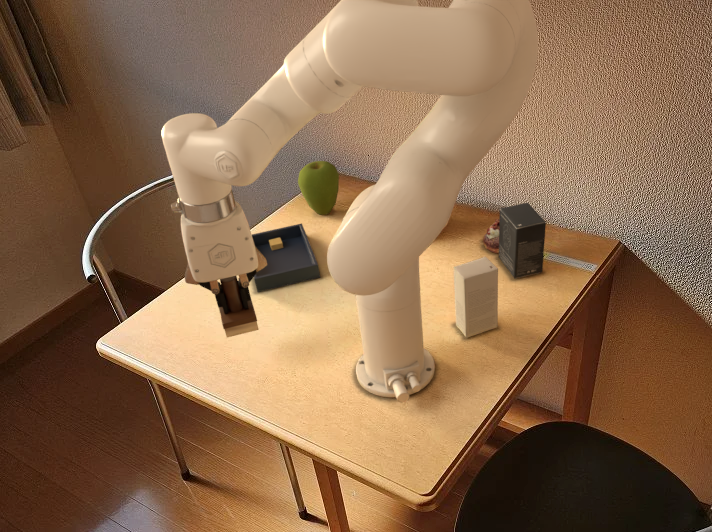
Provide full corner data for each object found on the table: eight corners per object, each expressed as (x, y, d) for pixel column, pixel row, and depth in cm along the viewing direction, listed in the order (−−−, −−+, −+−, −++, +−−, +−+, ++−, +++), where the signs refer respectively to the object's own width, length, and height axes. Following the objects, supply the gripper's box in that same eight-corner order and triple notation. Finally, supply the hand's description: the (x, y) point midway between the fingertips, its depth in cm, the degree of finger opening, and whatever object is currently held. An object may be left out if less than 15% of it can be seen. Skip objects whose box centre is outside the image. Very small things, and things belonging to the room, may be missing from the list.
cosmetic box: (486, 314, 127) (486, 255, 118) (498, 328, 124) (499, 268, 115) (454, 325, 125) (452, 266, 117) (465, 339, 122) (464, 279, 114)
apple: (334, 198, 162) (327, 148, 154) (350, 214, 156) (343, 163, 149) (298, 209, 160) (289, 160, 152) (312, 226, 154) (303, 175, 146)
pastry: (475, 239, 144) (475, 217, 141) (509, 228, 146) (510, 206, 142) (496, 259, 138) (497, 236, 135) (531, 247, 140) (532, 224, 137)
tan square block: (283, 248, 148) (282, 242, 147) (271, 250, 148) (270, 245, 147) (281, 242, 150) (280, 237, 149) (269, 244, 150) (268, 239, 149)
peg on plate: (259, 330, 117) (248, 285, 112) (226, 338, 117) (213, 293, 111) (252, 306, 123) (241, 261, 117) (220, 313, 122) (208, 269, 116)
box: (543, 272, 134) (546, 221, 127) (513, 279, 133) (515, 228, 126) (525, 251, 140) (528, 201, 132) (497, 257, 139) (498, 207, 132)
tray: (320, 277, 140) (318, 264, 138) (257, 292, 138) (254, 279, 136) (304, 236, 152) (301, 223, 150) (246, 249, 150) (242, 236, 148)
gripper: (153, 228, 102) (187, 331, 114) (267, 204, 104) (289, 308, 116) (151, 203, 107) (184, 304, 120) (260, 181, 109) (281, 282, 122)
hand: (235, 305), depth 118 cm, fingers closed on peg on plate, 2 cm apart
